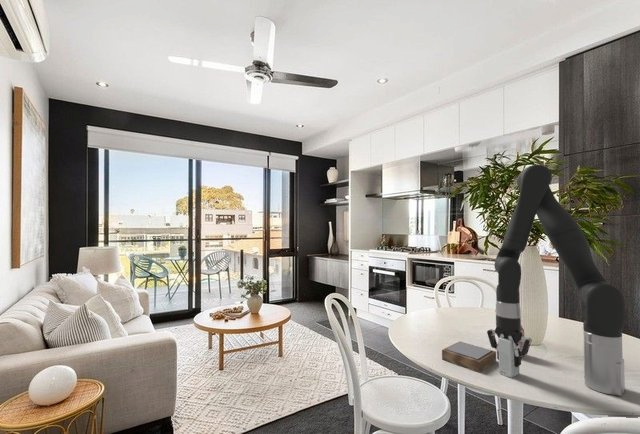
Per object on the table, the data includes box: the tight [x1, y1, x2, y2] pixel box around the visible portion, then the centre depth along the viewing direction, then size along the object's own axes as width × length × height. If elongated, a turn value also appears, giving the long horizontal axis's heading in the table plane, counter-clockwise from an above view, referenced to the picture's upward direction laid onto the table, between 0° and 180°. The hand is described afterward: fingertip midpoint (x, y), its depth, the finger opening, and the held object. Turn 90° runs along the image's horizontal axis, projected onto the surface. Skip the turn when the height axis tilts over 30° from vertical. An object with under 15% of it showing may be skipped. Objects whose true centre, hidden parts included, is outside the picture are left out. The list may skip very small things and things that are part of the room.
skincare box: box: [497, 337, 520, 378], centre depth 112 cm, size 6×4×12 cm
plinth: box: [441, 341, 497, 373], centre depth 122 cm, size 14×14×4 cm
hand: (508, 363), depth 112 cm, fingers closed on skincare box, 4 cm apart
